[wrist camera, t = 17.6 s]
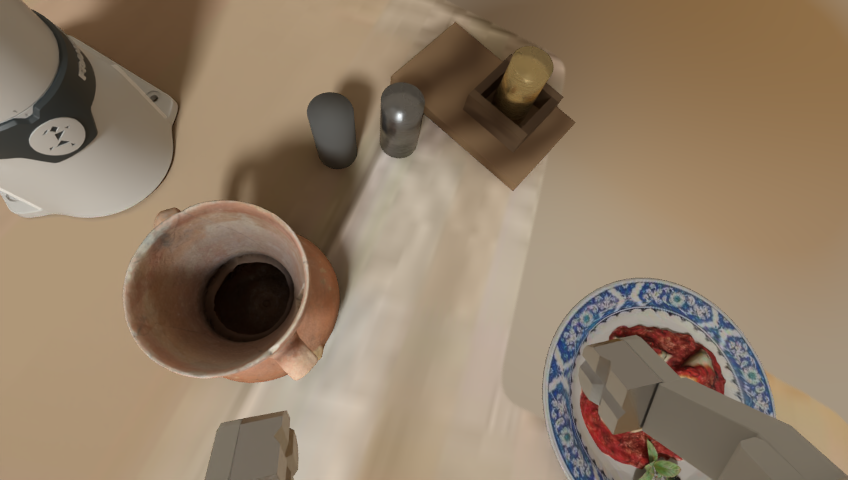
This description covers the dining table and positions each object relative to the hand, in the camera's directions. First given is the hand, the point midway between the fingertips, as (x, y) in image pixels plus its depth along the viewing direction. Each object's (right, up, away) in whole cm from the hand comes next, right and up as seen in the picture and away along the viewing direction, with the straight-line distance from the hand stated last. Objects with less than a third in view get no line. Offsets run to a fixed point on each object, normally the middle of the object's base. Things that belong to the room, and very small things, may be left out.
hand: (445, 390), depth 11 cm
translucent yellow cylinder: (+10, +20, +38) cm, 44 cm away
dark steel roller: (-4, +16, +37) cm, 40 cm away
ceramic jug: (-17, -2, +30) cm, 35 cm away
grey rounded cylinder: (-11, +14, +35) cm, 40 cm away
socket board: (+7, +21, +39) cm, 45 cm away
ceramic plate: (+24, -13, +33) cm, 43 cm away
